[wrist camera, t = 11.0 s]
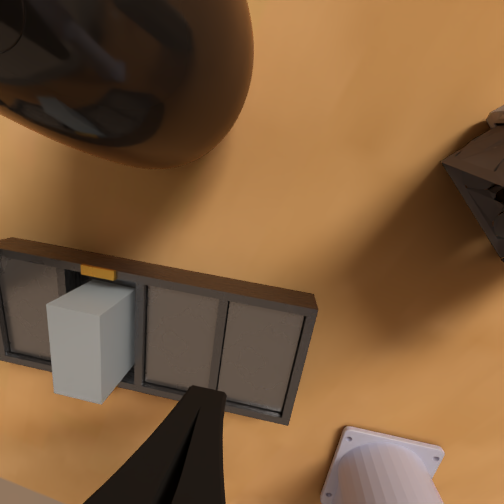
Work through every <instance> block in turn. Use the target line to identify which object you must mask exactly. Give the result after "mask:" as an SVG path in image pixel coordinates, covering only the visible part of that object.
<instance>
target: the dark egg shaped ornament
mask: <svg viewBox="0 0 504 504" xmlns="http://www.w3.org/2000/svg"><path fill="white" fill-rule="evenodd" d="M253 60H254V41H253V30H252V22H251V17H250V12H249V7H248V3H247V0H0V115H2V116H4V117H6V118H8V119H10V120H12V121H14V122H16V123H18V124H20V125H22V126H24V127H26V128H28V129H30V130H32V131H35V132H37V133H39V134H41V135H43V136H45V137H48V138H50V139H52V140H54V141H57V142H59V143H61V144H64V145H66V146H69V147H71V148H74V149H76V150H79V151H82V152H84V153H87V154H90V155H93V156H96V157H99V158H102V159H105V160H108V161H111V162H115V163H118V164H122V165H126V166H131V167H136V168H144V169H169V168H175V167H179V166H182V165H185V164H188V163H191V162H193V161H195V160H197V159H199V158H200V157H202V156H204V155H205V154H207V153H208V152H209V151H211V150H212V149H213V148H214V147H215V146H216V145H217V144H219V143H220V141H221V140H222V139H223V138H224V137H225V136H226V135H227V133H228V132H229V131H230V129H231V128H232V126H233V125H234V123H235V122H236V120H237V118H238V116H239V114H240V112H241V110H242V108H243V105H244V103H245V100H246V97H247V94H248V90H249V86H250V82H251V77H252V70H253Z"/></svg>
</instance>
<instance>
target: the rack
mask: <svg viewBox="0 0 504 504" xmlns="http://www.w3.org/2000/svg"><path fill="white" fill-rule="evenodd" d="M93 279H94V280H99V281H104V282H109V283H114V284H118V285H123V286H128V287H133V288H136V294H135V364H134V365H133V366H132V367H131V369H130V370H129V371H128V372H127V374H126V375H125V376H124V377H123V379H122V380H121V381H120V382H119V383H118V385H117V386H116V387H115V388H114V389H116V388H117V387H120V388H124V389H129V390H133V391H138V392H142V393H146V394H151V395H155V396H160V397H164V398H168V399H173V400H177V401H180V399H181V398H182V397H183V395H184V394H185V393H186V391H187V390H188V388H189V387H190V386H192V385H195V386H200V387H204V388H209V389H213V390H218V391H222V392H225V393H226V395H227V398H226V405H225V411H226V412H230V413H234V414H239V415H243V416H248V417H252V418H256V419H261V420H265V421H269V422H274V423H278V424H283V425H287V426H288V425H289V421H290V417H291V413H292V409H293V405H294V401H295V398H296V394H297V390H298V386H299V382H300V378H301V374H302V371H303V367H304V363H305V359H306V355H307V351H308V347H309V344H310V340H311V336H312V332H313V328H314V324H315V320H316V317H317V313H318V308H317V304H316V300H315V297H314V294H310V293H305V292H299V291H294V290H289V289H283V288H278V287H273V286H267V285H262V284H257V283H252V282H246V281H241V280H236V279H230V278H225V277H220V276H215V275H209V274H204V273H199V272H193V271H188V270H183V269H177V268H172V267H167V266H162V265H156V264H151V263H146V262H140V261H135V260H130V259H125V258H119V257H114V256H109V255H103V254H98V253H93V252H88V251H82V250H77V249H72V248H66V247H61V246H56V245H50V244H45V243H40V242H35V241H29V240H24V239H19V238H13V237H12V238H7V239H2V240H0V360H1V361H6V362H10V363H15V364H19V365H23V366H28V367H32V368H37V369H41V370H45V371H50V372H52V364H51V353H50V342H49V331H48V320H47V309H46V304H47V303H49V302H51V301H53V300H55V299H57V298H59V297H61V296H63V295H65V294H66V293H68V292H70V291H72V290H74V289H76V288H78V287H80V286H82V285H84V284H85V283H87V282H89V281H91V280H93Z"/></svg>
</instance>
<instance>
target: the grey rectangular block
mask: <svg viewBox="0 0 504 504" xmlns="http://www.w3.org/2000/svg"><path fill="white" fill-rule="evenodd" d="M135 294H136V288H133V287H128V286H123V285H118V284H114V283H109V282H104V281H99V280H94V279H93V280H91V281H89V282H87V283H85V284H84V285H82V286H80V287H78V288H76V289H74V290H72V291H70V292H68V293H66V294H65V295H63V296H61V297H59V298H57V299H55V300H53V301H51V302H49V303H47V304H46V309H47V320H48V331H49V342H50V353H51V364H52V375H53V386H54V393H56V394H60V395H64V396H69V397H73V398H77V399H81V400H85V401H89V402H93V403H97V404H101V405H102V403H103V402H104V401H105V400H106V398H107V397H108V396H109V395H110V393H111V392H112V391H113V390H114V388H115V387H116V386H117V385H118V383H119V382H120V381H121V380H122V379H123V377H124V376H125V375H126V374H127V372H128V371H129V370H130V369H131V367H132V366H133V365H134V364H135Z"/></svg>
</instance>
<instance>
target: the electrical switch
mask: <svg viewBox="0 0 504 504" xmlns="http://www.w3.org/2000/svg"><path fill="white" fill-rule="evenodd" d="M486 121H487V122H488V124H489V126H490V128H491V130H489V131H487V132H485V133H484V134H482V135H480V136H479V137H477V138H475V139H473V140H472V141H471V142H469V143H468V144H467V145H466V146H465V147H463V148H462V149H460V150H459V151H457V152H455V153H454V154H452V155H450V156H449V157H447V158H445V159H443V160H442V161H440V162H442V164H443V166H444V167H445V169H446V171H447V172H448V174H449V176H450V177H451V179H452V180H453V182H454V184H455V185H456V187H457V189H458V190H459V192H460V193H461V195H462V197H463V198H464V200H465V201H466V203H467V205H468V206H469V208H470V210H471V211H472V213H473V214H474V216H475V218H476V219H477V221H478V223H479V224H480V226H481V227H482V229H483V231H484V232H485V234H486V236H487V237H488V239H489V240H490V242H491V244H492V245H493V247H494V249H495V250H496V252H497V253H498V255H499V256H500V258H502V257H504V213H502V214H500V212H504V202H502V203H500V202H498V201H496V198H495V196H496V193H497V192H498V191H500V190H501V189H503V188H504V105H502V106H501V107H499V108H497V109H496V110H494V111H492V112H491V113H489V115H488V117H487V119H486ZM494 184H497V185H496V186H495V187H493V188H490V187H491V186H493V185H494ZM465 185H466V186H467V187H468V188H466V187H465ZM488 188H490V189H488ZM486 189H488V190H486ZM499 214H500V215H499ZM493 221H494V224H493V225H492V222H493ZM496 235H497V236H496ZM501 260H502V261H503V262H504V258H503V259H501Z"/></svg>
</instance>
